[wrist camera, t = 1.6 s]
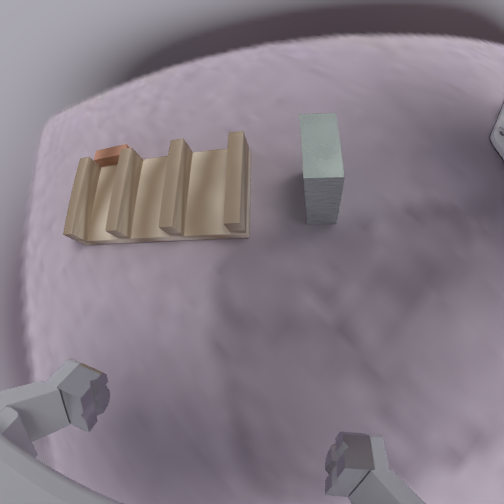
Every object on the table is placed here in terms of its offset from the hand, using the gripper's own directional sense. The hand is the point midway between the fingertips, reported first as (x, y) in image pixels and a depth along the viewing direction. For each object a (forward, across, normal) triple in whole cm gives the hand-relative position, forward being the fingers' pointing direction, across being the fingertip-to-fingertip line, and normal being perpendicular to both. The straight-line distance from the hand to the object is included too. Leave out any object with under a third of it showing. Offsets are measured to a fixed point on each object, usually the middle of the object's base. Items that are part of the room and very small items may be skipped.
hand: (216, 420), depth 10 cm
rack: (+27, +14, -1) cm, 31 cm away
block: (+26, -4, -4) cm, 27 cm away
